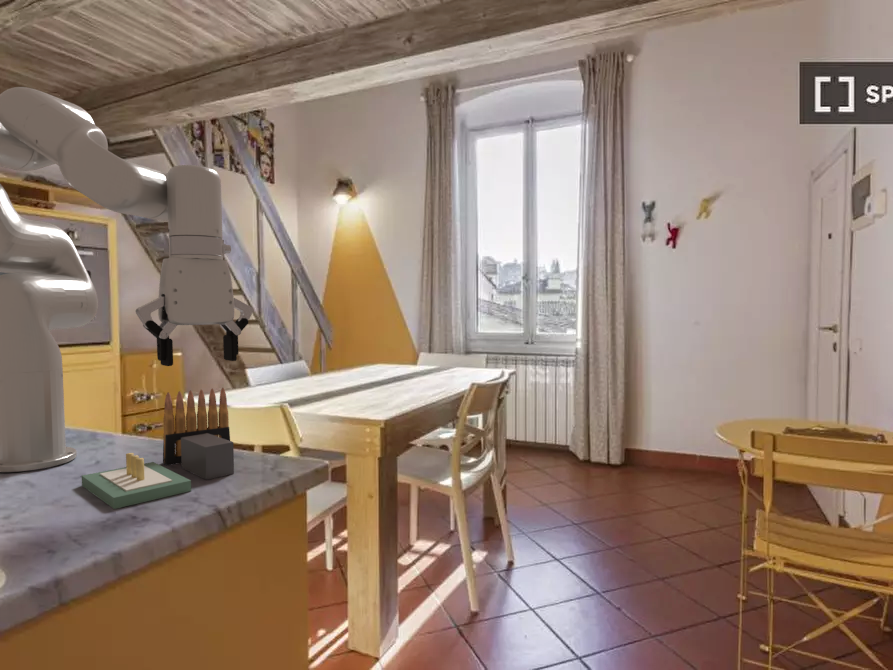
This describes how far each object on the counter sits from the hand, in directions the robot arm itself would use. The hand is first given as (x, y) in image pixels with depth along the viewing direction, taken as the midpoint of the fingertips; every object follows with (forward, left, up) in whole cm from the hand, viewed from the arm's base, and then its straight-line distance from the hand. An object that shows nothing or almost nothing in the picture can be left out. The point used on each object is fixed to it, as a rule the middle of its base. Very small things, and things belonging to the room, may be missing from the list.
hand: (199, 362), depth 89 cm
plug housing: (-2, +2, -18) cm, 18 cm away
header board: (-1, -9, -18) cm, 20 cm away
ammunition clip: (-10, +4, -18) cm, 21 cm away
